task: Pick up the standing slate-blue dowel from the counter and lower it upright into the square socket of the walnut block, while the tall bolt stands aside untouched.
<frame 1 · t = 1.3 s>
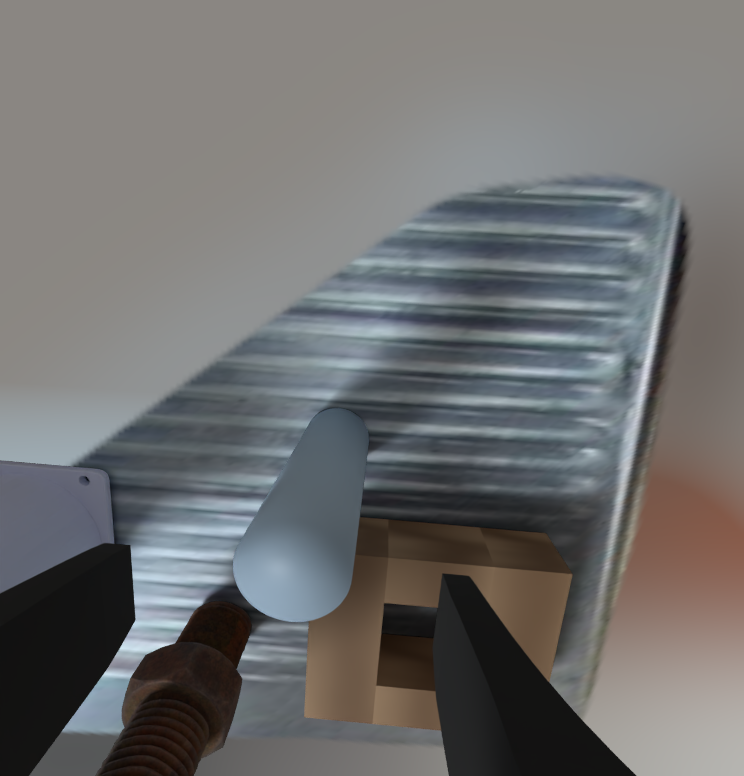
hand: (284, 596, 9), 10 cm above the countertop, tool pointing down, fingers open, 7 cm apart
hole block: (424, 601, 21), on the countertop
dowel: (337, 438, 20), on the countertop
bolt: (225, 616, 22), on the countertop
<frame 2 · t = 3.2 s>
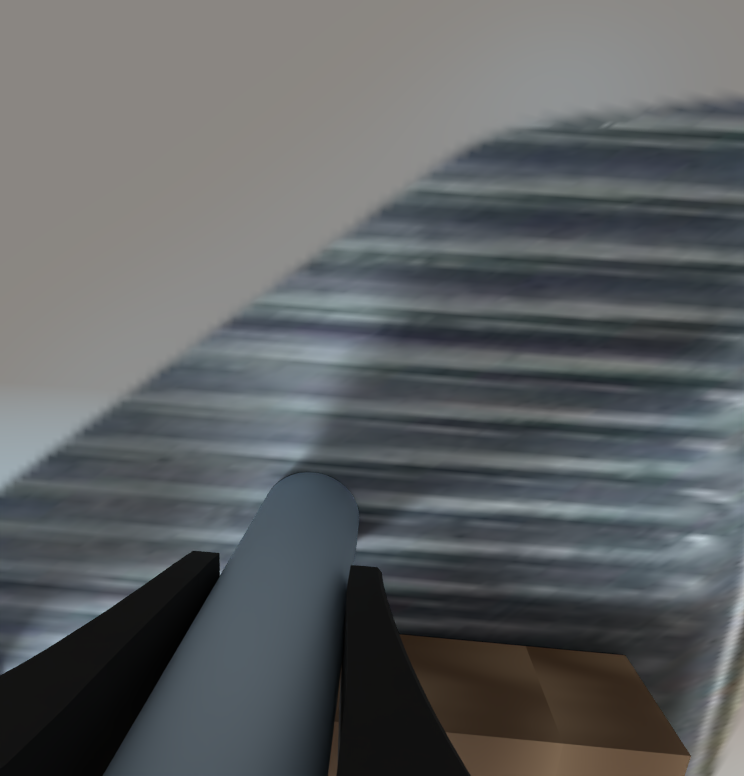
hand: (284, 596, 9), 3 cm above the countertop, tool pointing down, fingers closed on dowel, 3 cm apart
hole block: (441, 744, 15), on the countertop
dowel: (310, 517, 13), on the countertop, touching gripper
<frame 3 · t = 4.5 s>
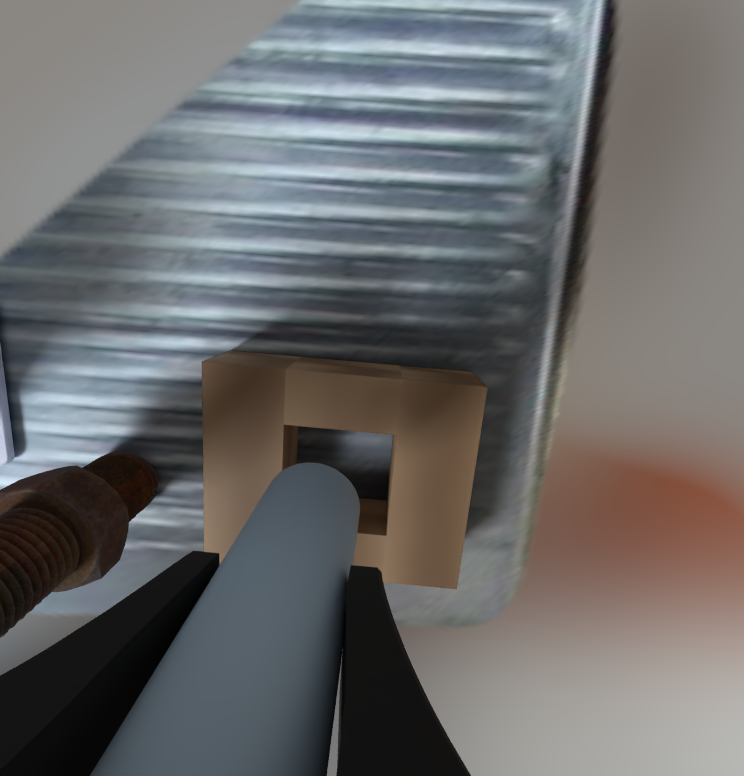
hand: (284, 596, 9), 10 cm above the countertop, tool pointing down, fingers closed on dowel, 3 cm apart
hole block: (343, 453, 20), on the countertop
dowel: (312, 507, 13), point 7 cm above the countertop, touching gripper
bolt: (132, 475, 21), on the countertop
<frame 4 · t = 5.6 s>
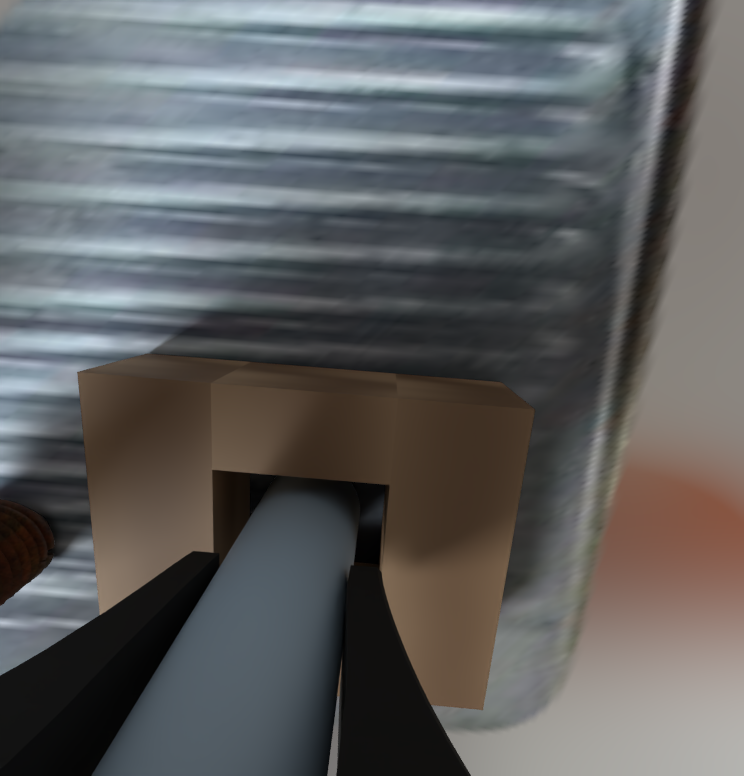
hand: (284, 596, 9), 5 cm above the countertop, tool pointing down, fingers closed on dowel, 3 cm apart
hole block: (316, 499, 14), on the countertop
dowel: (312, 507, 13), point 1 cm above the countertop, touching gripper
bolt: (22, 529, 15), on the countertop
when the fingers open (4 cm above the countertop, at t = 6.3 s): dowel stays where it is, resting in hole block.
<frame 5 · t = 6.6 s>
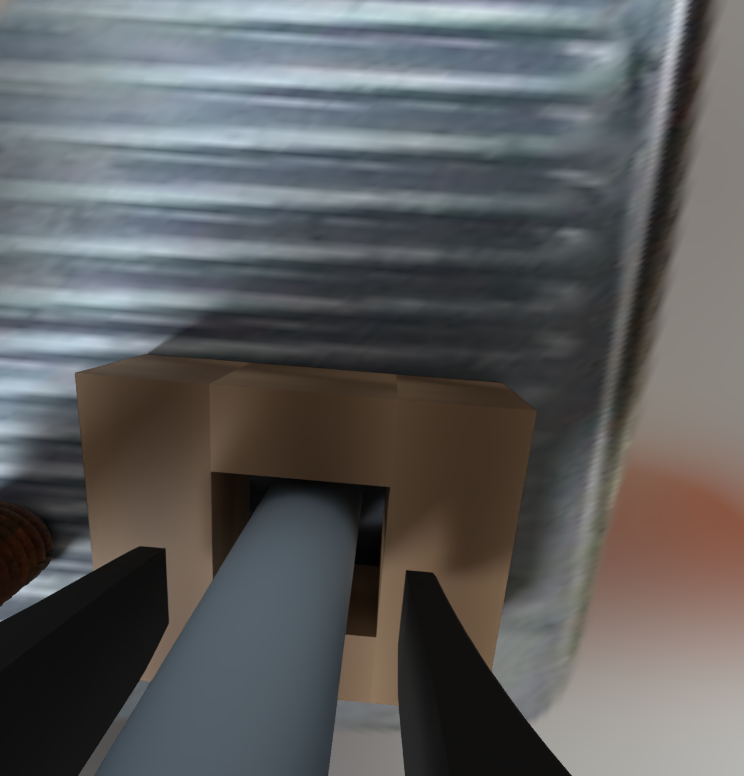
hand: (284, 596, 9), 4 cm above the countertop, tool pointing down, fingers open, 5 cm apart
hole block: (316, 501, 14), on the countertop
dowel: (317, 495, 14), resting in hole block
bolt: (20, 531, 15), on the countertop
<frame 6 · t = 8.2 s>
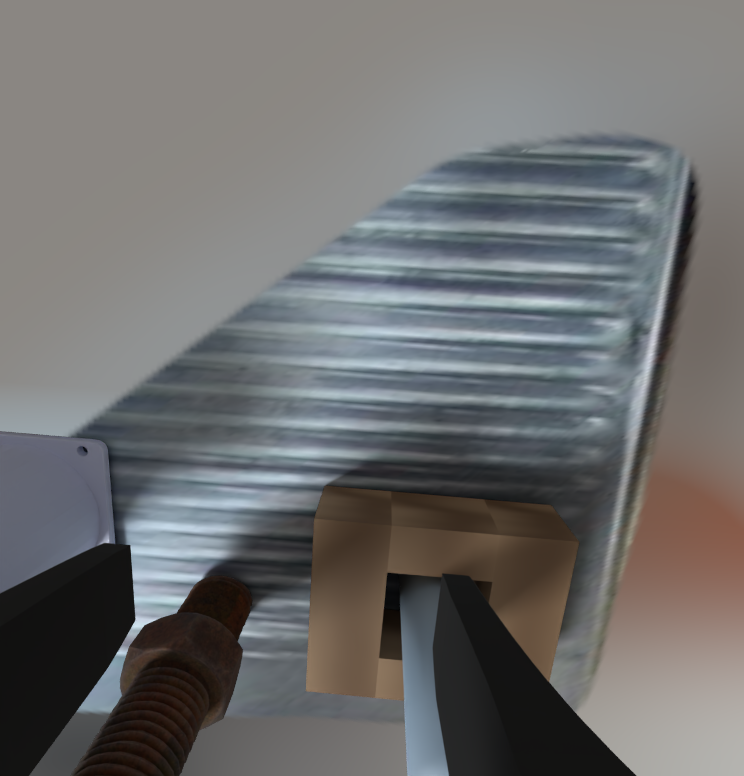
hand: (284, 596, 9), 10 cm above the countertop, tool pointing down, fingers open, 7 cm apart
hole block: (427, 575, 21), on the countertop
dowel: (428, 571, 21), resting in hole block
bolt: (225, 592, 22), on the countertop
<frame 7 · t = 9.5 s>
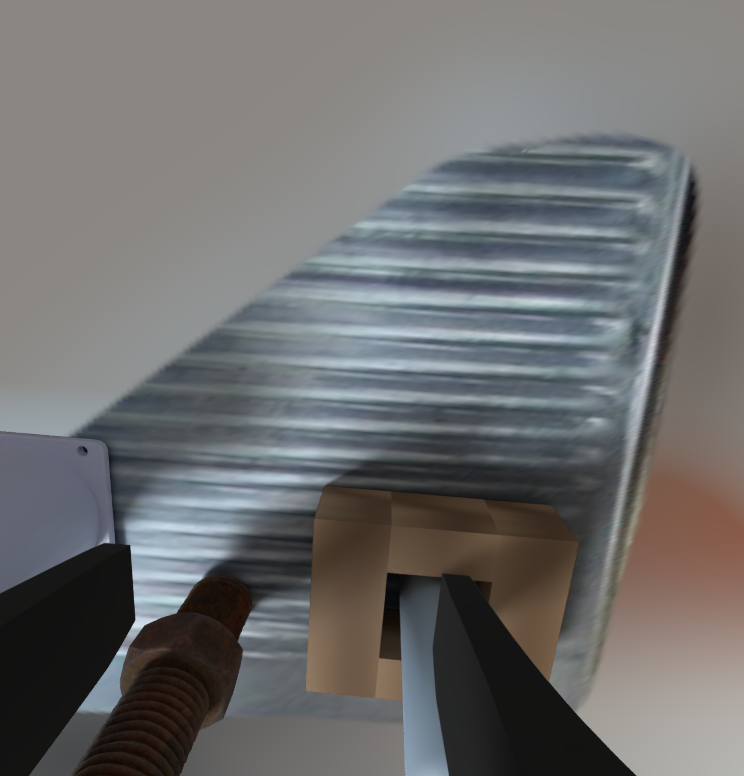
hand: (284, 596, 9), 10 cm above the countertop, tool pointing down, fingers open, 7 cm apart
hole block: (427, 575, 21), on the countertop
dowel: (428, 571, 21), resting in hole block
bolt: (225, 592, 22), on the countertop
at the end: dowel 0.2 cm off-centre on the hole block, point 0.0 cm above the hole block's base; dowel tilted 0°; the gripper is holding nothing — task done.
